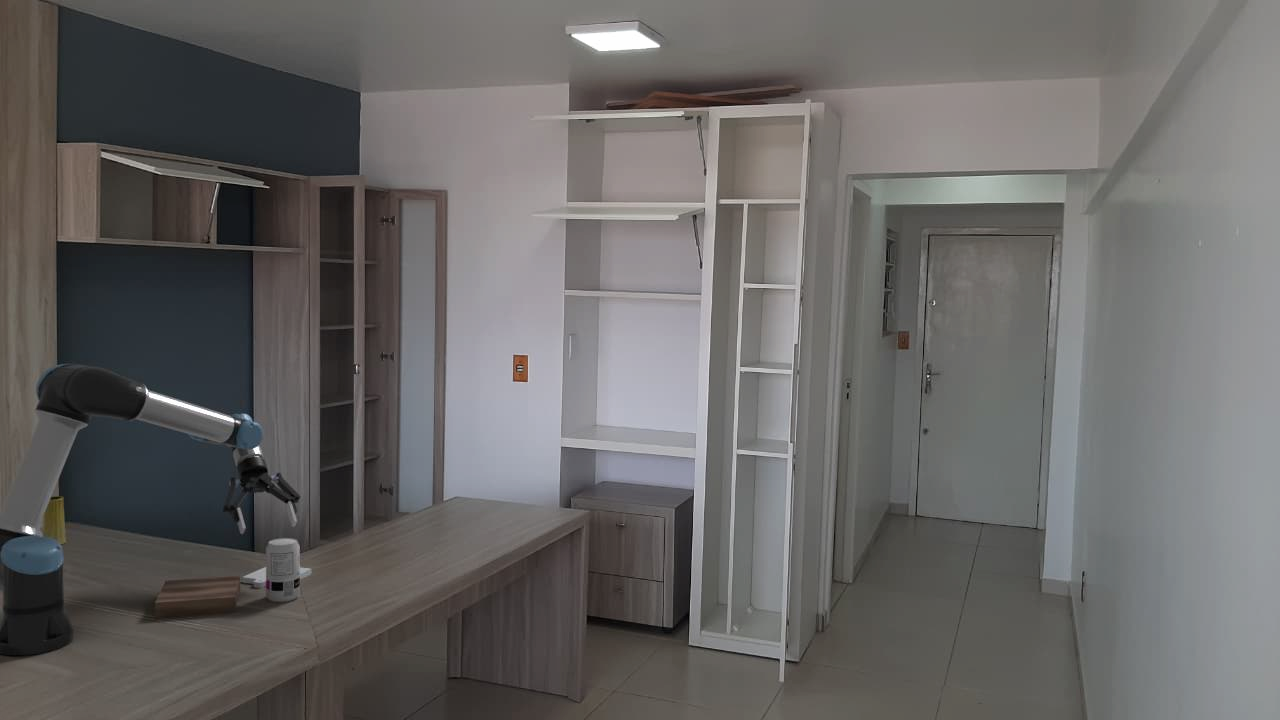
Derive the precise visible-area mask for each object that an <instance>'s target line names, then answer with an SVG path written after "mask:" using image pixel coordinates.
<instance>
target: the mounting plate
mask: <svg viewBox="0 0 1280 720" xmlns="http://www.w3.org/2000/svg"><path fill="white" fill-rule="evenodd" d="M312 571H313V570H312V568H308V567H301V566H300V580H302V579H304V578H306V577H309V576H310V575H312ZM241 580H242V581H241V583H243V584H251V585H253V588H257V589H263V588H266V566H264V567H262V568H260V569H258V570H255V571H252V572H251V573H249V574H246V575H244V576H242V577H241Z"/></svg>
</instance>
